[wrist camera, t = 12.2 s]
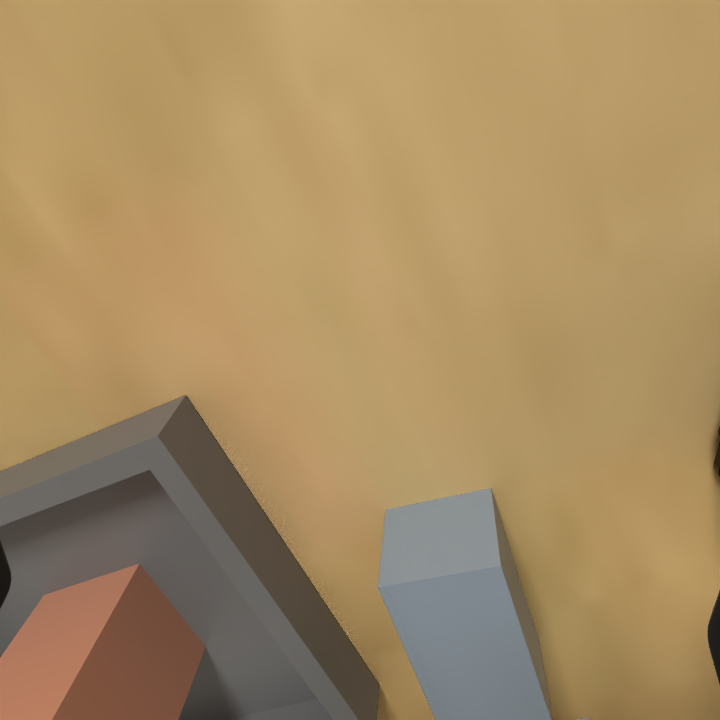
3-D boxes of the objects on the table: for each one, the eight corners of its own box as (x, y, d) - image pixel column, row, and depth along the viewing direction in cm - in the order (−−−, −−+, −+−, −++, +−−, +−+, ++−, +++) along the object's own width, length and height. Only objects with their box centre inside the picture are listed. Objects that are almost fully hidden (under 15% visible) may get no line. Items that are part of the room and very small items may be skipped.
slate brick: (385, 506, 24) (377, 587, 21) (490, 485, 23) (500, 565, 20) (443, 650, 27) (445, 742, 24) (538, 637, 26) (554, 730, 23)
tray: (186, 395, 23) (157, 435, 20) (379, 684, 28) (374, 742, 26) (-125, 522, 27) (-177, 568, 25) (98, 750, 33) (72, 804, 30)
